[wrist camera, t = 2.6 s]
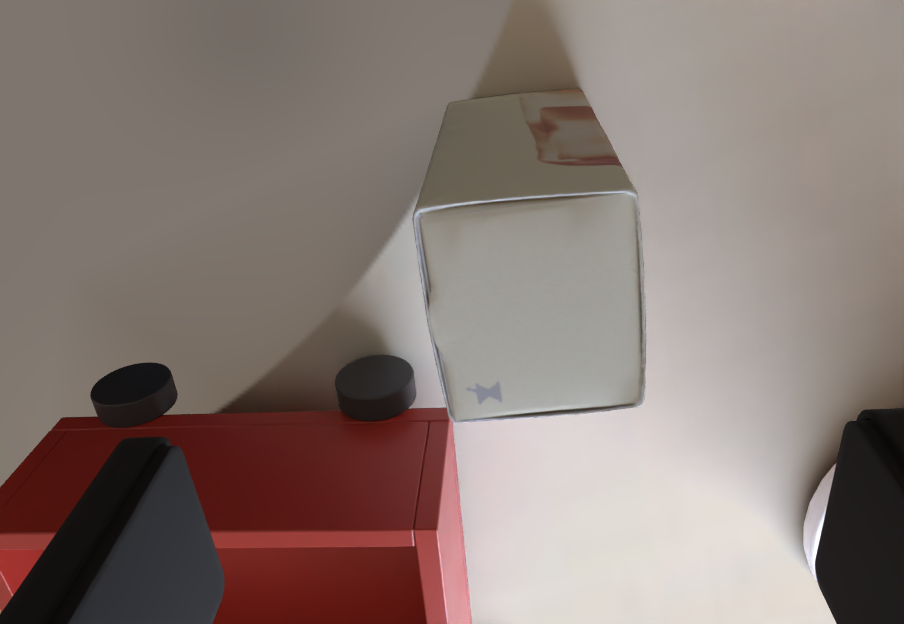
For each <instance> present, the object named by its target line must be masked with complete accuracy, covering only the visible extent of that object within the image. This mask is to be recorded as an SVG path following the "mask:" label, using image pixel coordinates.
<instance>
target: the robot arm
mask: <svg viewBox="0 0 904 624" xmlns="http://www.w3.org/2000/svg"><path fill="white" fill-rule="evenodd" d="M804 550H805V553H806V557H807V560H808V564H809V567H810V569H811V571H812V573H813V575H814V577H815V579H816V581H817V583H818V585H819V587H820V590H821V592H822V594H823V596H824V598H825V600H826V602H827V604H828V606H829V608H830V611H831V613H832V615H833V617H834V619H835V621H836V623H837V624H904V408H895V409H869V410H863V411H861V413H860V414H859V415H858V417H857V420H856V421H849V422H847V424H846V425H845V427H844V431H843V435H842V440H841V444H840V449H839V453H838V458H837V462H836V463H835V465H834V466H833V467H832V468H831V469H830V471H829V472H828V473H827V474H826V475H825V477H824V478H823V479H822V481H821V482H820V484H819V486H818V488H817V490H816V492H815V494H814V495H813V497H812V499H811V501H810V503H809V507H808V511H807V514H806V518H805V522H804ZM224 586H225V578H224V572H223V569H222V566H221V563H220V560H219V557H218V554H217V551H216V548H215V545H214V542H213V539H212V536H211V533H210V530H209V527H208V524H207V522H206V519H205V516H204V513H203V510H202V507H201V504H200V501H199V498H198V495H197V492H196V489H195V486H194V483H193V480H192V477H191V474H190V471H189V468H188V465H187V462H186V459H185V457H184V454H183V452H182V449H181V448H180V447H179V446H172V445H171V442H170V441H169V440H168V439H167V438H166V437H162V436H158V437H132V438H125V439H122V440H121V441H120V442H119V443H118V445H117V446H116V447H115V449H114V450H113V452H112V453H111V455H110V456H109V458H108V459H107V461H106V462H105V463H104V465H103V466H102V468H101V469H100V471H99V472H98V474H97V475H96V476H95V478H94V479H93V481H92V482H91V484H90V485H89V487H88V488H87V489H86V491H85V492H84V494H83V495H82V497H81V498H80V500H79V501H78V502H77V504H76V505H75V507H74V508H73V510H72V511H71V513H70V514H69V515H68V517H67V518H66V520H65V521H64V523H63V524H62V526H61V527H60V528H59V530H58V531H57V533H56V534H55V536H54V537H53V539H52V540H51V541H50V543H49V544H48V546H47V547H46V549H45V550H44V552H43V553H42V555H41V556H40V557H39V559H38V560H37V562H36V563H35V565H34V566H33V568H32V569H31V570H30V572H29V573H28V575H27V576H26V578H25V579H24V581H23V582H22V583H21V585H20V586H19V588H18V589H17V591H16V592H15V594H14V595H13V596H12V598H11V599H10V601H9V602H8V604H7V605H6V607H5V608H4V609H3V611H2V612H1V614H0V624H213V621H214V618H215V616H216V613H217V611H218V608H219V606H220V603H221V600H222V597H223V593H224Z"/></svg>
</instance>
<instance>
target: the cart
mask: <svg viewBox="0 0 904 624" xmlns="http://www.w3.org/2000/svg"><path fill="white" fill-rule="evenodd" d="M335 388H336V393H337V399H338V404H339V407H340V409H341V410H336V411H297V412H258V413H220V414H181V415H163V414H164V413H166V412H167V411H168V410H169V409H170V408H171V407H172V406H173V405H174V404H175V402H176V399H177V390H176V387H175V384H174V381H173V377H172V374H171V371H170V370H169V369H168V368H167V367H166V366H164V365H162V364H158V363H139V364H133V365H130V366H126V367H123V368H120V369H118V370H115V371H113V372H111V373H109V374H108V375H106V376H104V377H103V378H102V379H100V380H99V381H98V382H97V383H96V384H95V385H94V387H93V388H92V391H91V399H92V402H93V404H94V407H95V410H96V413H97V415H98V417H65V418H61V419H60V420H59V422H58V423H57V424H56V425H55V426H54V427H53V429H52V430H51V431H50V432H48V434H47V435H46V436H45V437H44V438H43V439H42V440H41V442H40V443H39V444H38V445H37V446H36V447H35V448H34V450H33V451H32V452H31V453H30V454H29V455H28V456H27V458H26V459H25V460H24V461H23V462H22V463H21V465H19V467H18V468H17V469H16V470H15V471H14V472H13V473H12V475H11V476H10V477H9V478H8V479H7V480H6V481H5V483H4V484H3V485H2V486H1V487H0V610H1V612H2V611H3V609H4V608H5V607H6V605H7V604H8V602H9V601H10V599H11V598H12V596H13V595H14V594H15V592H16V591H17V589H18V588H19V586H20V585H21V583H22V582H23V581H24V579H25V578H26V576H27V575H28V573H29V572H30V570H31V569H32V568H33V566H34V565H35V563H36V562H37V560H38V559H39V557H40V556H41V555H42V553H43V552H44V550H45V549H46V547H47V546H48V544H49V543H50V541H51V540H52V539H53V537H54V536H55V534H56V533H57V531H58V530H59V528H60V527H61V526H62V524H63V523H64V521H65V520H66V518H67V517H68V515H69V514H70V513H71V511H72V510H73V508H74V507H75V505H76V504H77V502H78V501H79V500H80V498H81V497H82V495H83V494H84V492H85V491H86V489H87V488H88V487H89V485H90V484H91V482H92V481H93V479H94V478H95V476H96V475H97V474H98V472H99V471H100V469H101V468H102V466H103V465H104V463H105V462H106V461H107V459H108V458H109V456H110V455H111V453H112V452H113V450H114V449H115V447H116V446H117V445H118V443H119V442H120V441H121V440H122V439H125V438H132V437H158V436H162V437H166V438H167V439H168V440H169V441H170V442H171V445H172V446H179V447H180V448H181V449H182V452H183V454H184V457H185V459H186V462H187V465H188V468H189V471H190V474H191V477H192V480H193V483H194V486H195V489H196V492H197V495H198V498H199V501H200V504H201V507H202V510H203V513H204V516H205V519H206V522H207V524H208V527H209V530H210V533H211V536H212V539H213V542H214V545H215V548H216V551H217V554H218V557H219V560H220V563H221V566H222V569H223V572H224V578H225V586H224V593H223V597H222V600H221V603H220V606H219V608H218V611H217V613H216V616H215V618H214V621H213V624H472V621H471V611H470V600H469V590H468V579H467V569H466V559H465V548H464V538H463V528H462V517H461V507H460V496H459V486H458V476H457V465H456V455H455V444H454V434H453V424H452V421H451V420H450V418H449V416H448V412H447V408H413V409H408V408H409V407H410V406H411V405H412V404H413V402H414V400H415V397H416V388H415V380H414V372H413V369H412V367H411V365H410V364H409V363H408V362H406V361H405V360H403V359H401V358H398V357H394V356H388V355H376V356H369V357H364V358H361V359H358V360H355V361H353V362H351V363H349V364H348V365H346V366H345V367H343V368H342V369H341V370H340V371H339V373H338V374H337V376H336V379H335Z"/></svg>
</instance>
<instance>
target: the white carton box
mask: <svg viewBox="0 0 904 624" xmlns="http://www.w3.org/2000/svg"><path fill="white" fill-rule="evenodd" d="M413 225H414V232H415V240H416V247H417V256H418V263H419V269H420V276H421V283H422V288H423V295H424V301H425V309H426V316H427V322H428V327H429V332H430V337H431V342H432V346H433V351H434V356H435V361H436V365H437V369H438V374H439V378H440V382H441V386H442V391H443V395H444V399H445V403H446V407H447V412H448V416H449V418H450V420H451V421H452V422H458V423H463V422H477V421H491V420H506V419H521V418H538V417H550V416H561V415H576V414H586V413H593V412H603V411H611V410H617V409H625V408H633V407H638V406H640V405H642V404H643V402H644V399H645V368H646V309H645V287H644V262H643V247H642V233H641V223H640V212H639V203H638V194H637V192H636V190H635V188H634V186H633V184H632V182H631V181H630V180H629V177H628V175H627V174H626V172H625V170H624V169H623V167H622V165H621V163H620V161H619V159H618V157H617V155H616V153H615V151H614V149H613V147H612V145H611V143H610V141H609V139H608V137H607V135H606V134H605V132H604V130H603V128H602V127H601V125H600V123H599V121H598V119H597V118H596V116H595V114H594V111H593V109H592V107H591V105H590V103H589V102H588V100H587V98H586V96H585V95H584V93H583V91H582V90H581V89H578V88H576V89H562V90H551V91H541V92H530V93H520V94H510V95H502V96H493V97H485V98H477V99H469V100H462V101H455V102H451V103H449V104H448V106H447V109H446V112H445V115H444V118H443V122H442V125H441V129H440V132H439V135H438V138H437V142H436V145H435V148H434V151H433V154H432V158H431V161H430V164H429V167H428V170H427V173H426V177H425V180H424V183H423V186H422V188H421V192H420V195H419V199H418V202H417V205H416V208H415V210H414V213H413Z"/></svg>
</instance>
